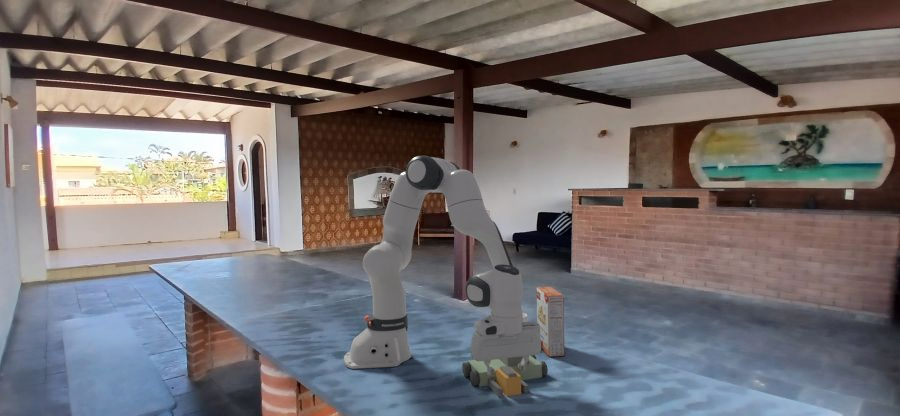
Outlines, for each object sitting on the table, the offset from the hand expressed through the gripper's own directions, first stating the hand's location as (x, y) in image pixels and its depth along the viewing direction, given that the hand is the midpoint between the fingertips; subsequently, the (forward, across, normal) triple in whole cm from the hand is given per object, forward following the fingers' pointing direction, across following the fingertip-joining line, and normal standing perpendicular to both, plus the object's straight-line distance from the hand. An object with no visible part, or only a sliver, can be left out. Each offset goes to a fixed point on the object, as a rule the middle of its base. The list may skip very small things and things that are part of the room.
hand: (506, 372), depth 130 cm
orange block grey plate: (+5, -1, 0) cm, 5 cm away
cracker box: (+5, -27, -25) cm, 37 cm away
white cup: (+5, -20, -37) cm, 42 cm away
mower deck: (+5, -4, -6) cm, 8 cm away
